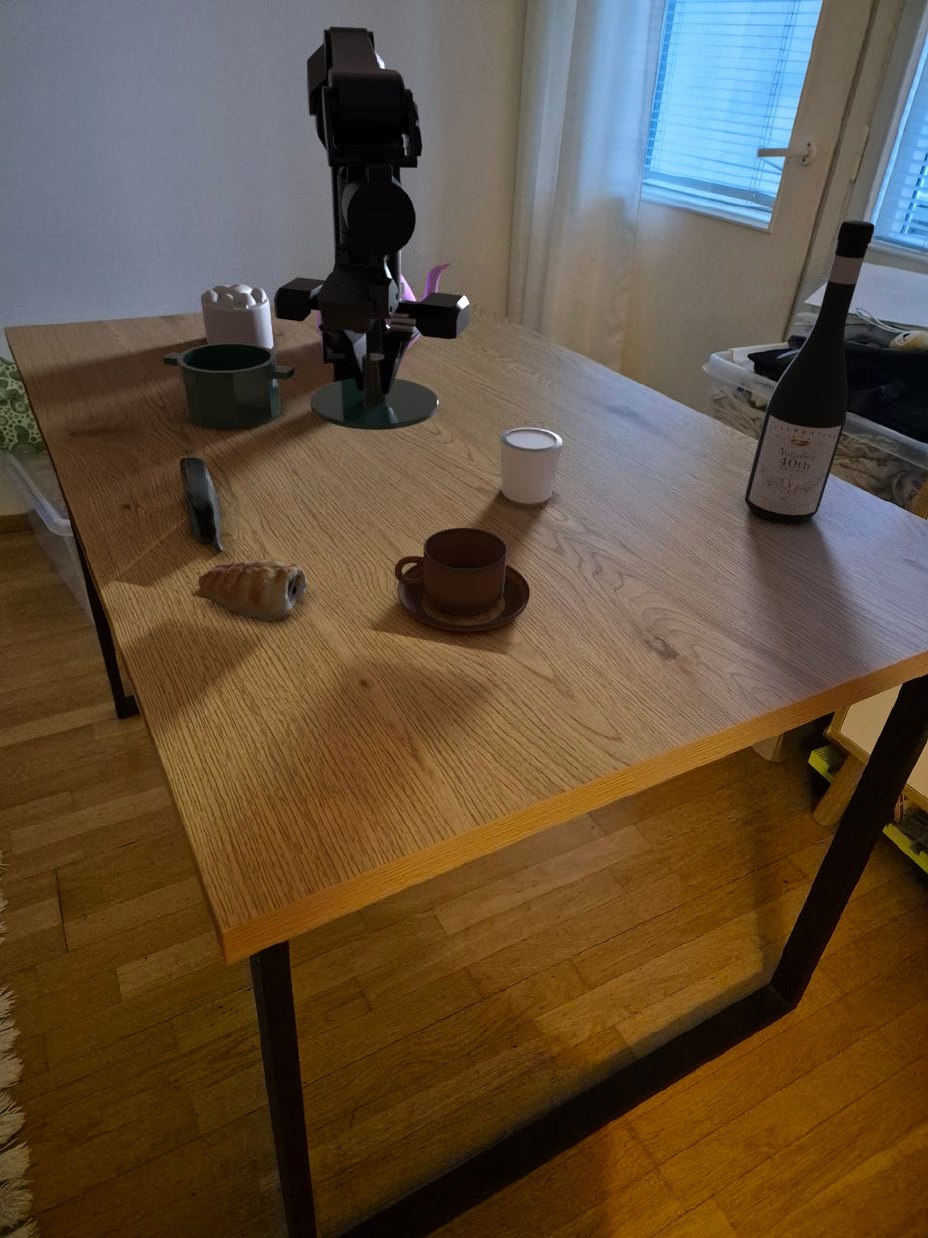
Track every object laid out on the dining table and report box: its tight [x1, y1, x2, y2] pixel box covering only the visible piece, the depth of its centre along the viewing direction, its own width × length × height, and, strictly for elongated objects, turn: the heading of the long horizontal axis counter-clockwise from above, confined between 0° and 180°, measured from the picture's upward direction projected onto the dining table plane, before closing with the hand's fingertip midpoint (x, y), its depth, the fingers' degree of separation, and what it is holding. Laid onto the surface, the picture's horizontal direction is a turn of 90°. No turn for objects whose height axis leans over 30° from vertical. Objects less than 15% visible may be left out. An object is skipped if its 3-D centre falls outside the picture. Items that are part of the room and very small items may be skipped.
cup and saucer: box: [394, 527, 531, 633], centre depth 76 cm, size 12×12×6 cm
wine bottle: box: [744, 219, 875, 524], centre depth 87 cm, size 8×8×30 cm
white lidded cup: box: [499, 427, 563, 505], centre depth 95 cm, size 7×7×7 cm
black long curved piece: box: [179, 456, 224, 554], centre depth 87 cm, size 5×3×15 cm
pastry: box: [197, 557, 308, 622], centre depth 76 cm, size 9×7×4 cm
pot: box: [162, 343, 296, 430], centre depth 112 cm, size 12×18×8 cm
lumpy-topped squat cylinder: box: [200, 283, 274, 350], centre depth 136 cm, size 10×13×9 cm
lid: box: [309, 353, 439, 431], centre depth 88 cm, size 13×13×6 cm
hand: (374, 391), depth 88 cm, fingers closed on lid, 2 cm apart
